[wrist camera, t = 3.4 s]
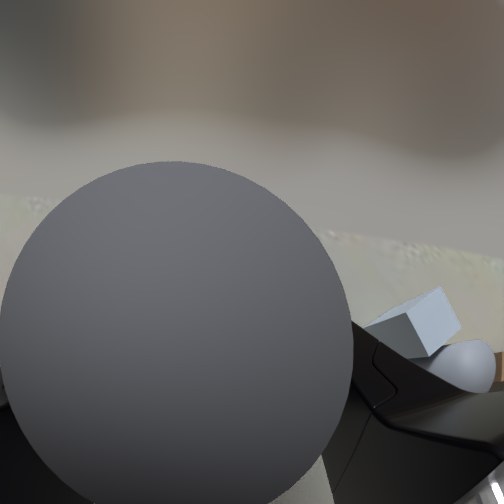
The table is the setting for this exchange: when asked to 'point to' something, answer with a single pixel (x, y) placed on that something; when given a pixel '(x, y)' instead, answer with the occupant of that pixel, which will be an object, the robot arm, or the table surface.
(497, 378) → the door
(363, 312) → the table surface
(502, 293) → the table surface
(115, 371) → the gray cylinder
